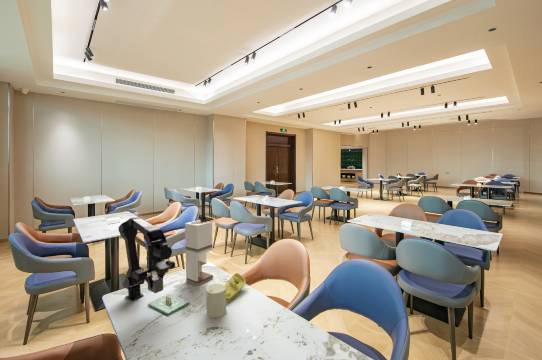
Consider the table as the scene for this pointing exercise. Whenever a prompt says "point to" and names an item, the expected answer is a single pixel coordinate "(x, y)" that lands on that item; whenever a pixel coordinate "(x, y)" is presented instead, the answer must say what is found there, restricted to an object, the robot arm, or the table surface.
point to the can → (216, 300)
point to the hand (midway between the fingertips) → (155, 287)
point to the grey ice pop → (156, 284)
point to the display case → (197, 250)
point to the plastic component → (234, 286)
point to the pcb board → (168, 304)
